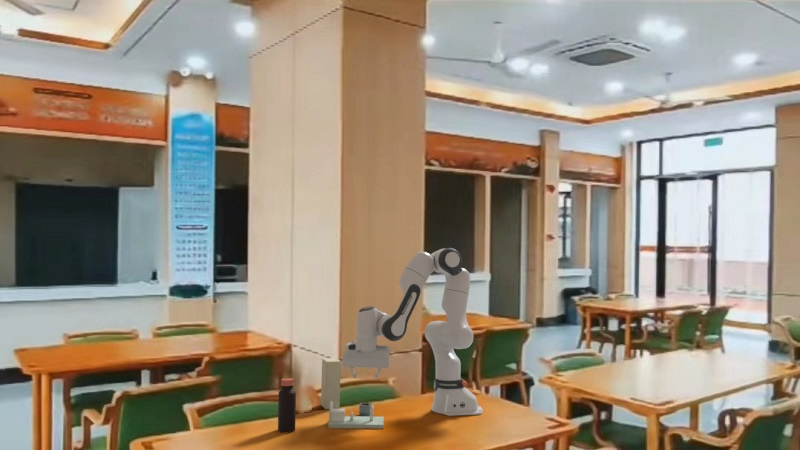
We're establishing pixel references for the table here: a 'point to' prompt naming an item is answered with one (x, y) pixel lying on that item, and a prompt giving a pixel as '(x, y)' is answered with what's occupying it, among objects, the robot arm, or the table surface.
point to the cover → (336, 414)
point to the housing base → (359, 421)
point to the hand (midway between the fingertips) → (365, 377)
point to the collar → (364, 409)
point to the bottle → (287, 406)
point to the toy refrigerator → (330, 382)
